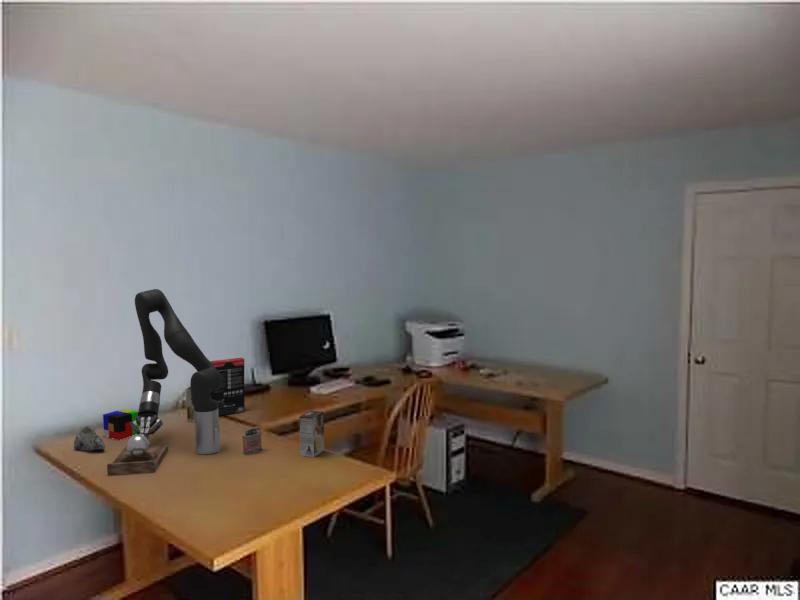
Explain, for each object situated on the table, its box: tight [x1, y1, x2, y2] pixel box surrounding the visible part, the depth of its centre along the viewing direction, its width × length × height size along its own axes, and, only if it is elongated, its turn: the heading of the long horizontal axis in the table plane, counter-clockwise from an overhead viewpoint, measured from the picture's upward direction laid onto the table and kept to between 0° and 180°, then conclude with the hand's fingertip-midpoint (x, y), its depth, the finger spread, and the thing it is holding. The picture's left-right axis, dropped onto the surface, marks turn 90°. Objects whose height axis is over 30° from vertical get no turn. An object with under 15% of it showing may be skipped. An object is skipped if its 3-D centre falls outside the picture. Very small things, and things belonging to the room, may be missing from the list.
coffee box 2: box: [299, 410, 325, 458], centre depth 233 cm, size 9×6×16 cm
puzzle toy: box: [102, 408, 140, 441], centre depth 256 cm, size 10×10×10 cm
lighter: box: [241, 426, 263, 455], centre depth 234 cm, size 8×3×10 cm, turn 129°
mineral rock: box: [73, 425, 106, 452], centre depth 236 cm, size 13×11×10 cm
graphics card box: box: [209, 357, 246, 417], centre depth 288 cm, size 17×7×27 cm, turn 130°
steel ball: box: [126, 434, 150, 456], centre depth 224 cm, size 8×8×8 cm
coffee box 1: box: [185, 386, 195, 423], centre depth 277 cm, size 9×6×16 cm
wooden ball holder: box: [106, 443, 169, 476], centre depth 224 cm, size 16×24×4 cm, turn 11°
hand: (143, 443), depth 229 cm, fingers closed
